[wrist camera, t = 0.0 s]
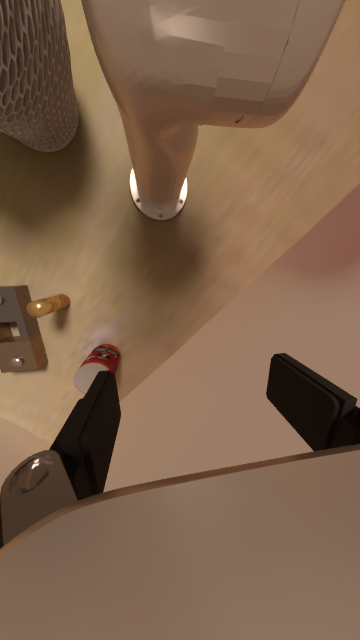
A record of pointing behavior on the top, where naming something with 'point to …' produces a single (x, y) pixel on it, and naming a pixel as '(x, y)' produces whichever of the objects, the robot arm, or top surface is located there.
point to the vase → (36, 75)
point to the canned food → (96, 365)
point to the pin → (47, 305)
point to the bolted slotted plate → (27, 347)
